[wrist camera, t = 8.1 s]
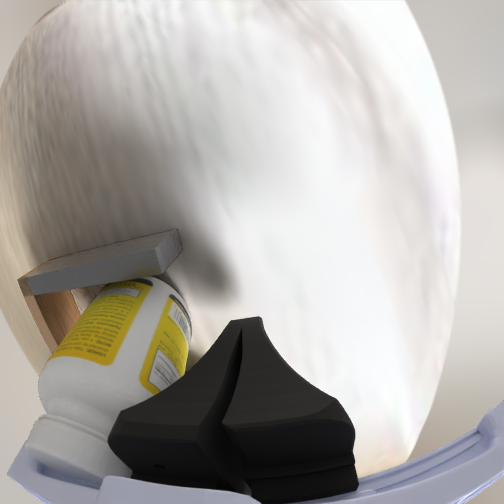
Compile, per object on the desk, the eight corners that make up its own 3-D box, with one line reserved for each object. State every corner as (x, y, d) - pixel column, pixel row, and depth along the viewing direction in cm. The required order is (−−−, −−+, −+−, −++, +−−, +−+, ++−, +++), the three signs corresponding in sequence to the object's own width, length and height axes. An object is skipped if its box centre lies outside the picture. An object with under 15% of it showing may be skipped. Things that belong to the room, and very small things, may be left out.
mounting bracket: (224, 380, 15) (219, 418, 12) (106, 381, 16) (89, 409, 13) (177, 228, 12) (154, 248, 9) (48, 260, 13) (17, 279, 10)
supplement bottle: (89, 319, 13) (9, 451, 4) (124, 249, 12) (-4, 400, 3) (165, 367, 15) (133, 515, 6) (214, 310, 14) (199, 503, 4)
